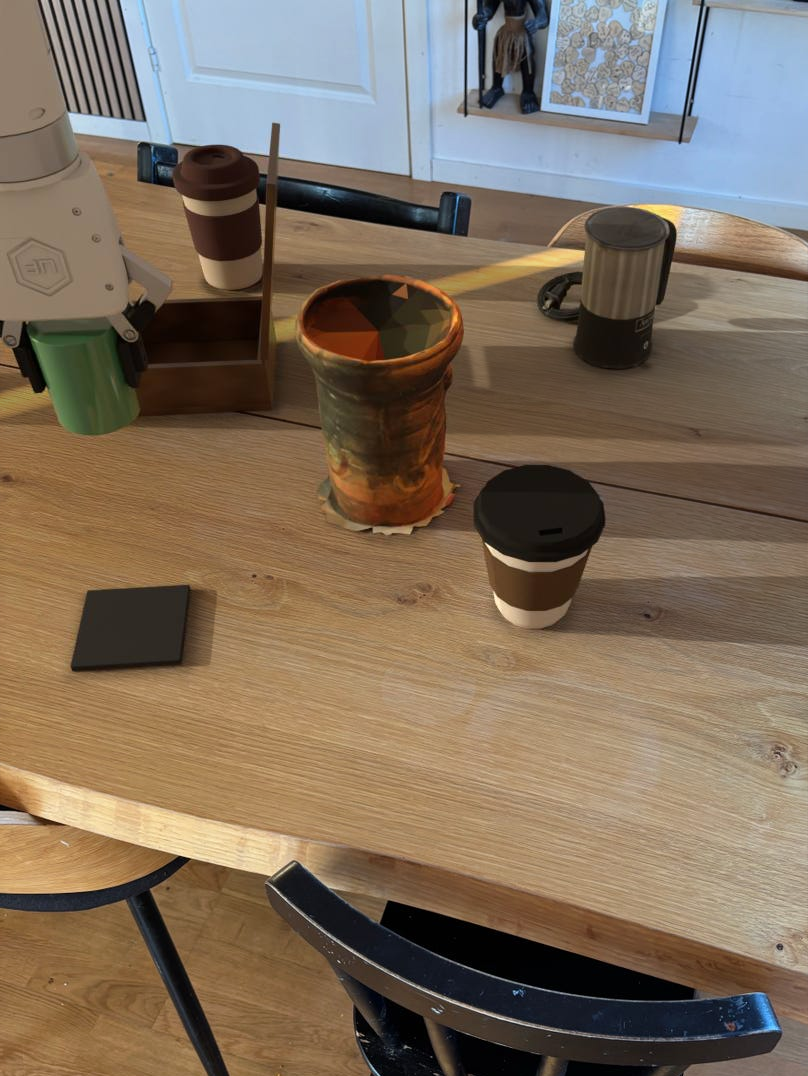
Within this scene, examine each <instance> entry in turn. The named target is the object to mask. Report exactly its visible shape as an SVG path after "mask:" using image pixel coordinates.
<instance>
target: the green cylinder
mask: <svg viewBox="0 0 808 1076" xmlns="http://www.w3.org/2000/svg"><path fill="white" fill-rule="evenodd" d="M26 324H27V333H28V336H29V339H30V342H31V345H32V348H33V350H34V353H35V356H36V359H37V362H38V364H39V367H40V370H41V373H42V376H43V378H44V381H45V384H46V389H47V392H48V395H49V398H50V402H51V404H52V406H53V409H54V412H55V414H56V415H55V416H56V418H57V420H58V423H59V425H60V426H61V427H62V428H63V429H64V430H66V431H68V432H69V433H72V434H75V435H79V436H87V437H88V436H89V437H90V436H94V437H95V436H103V435H108V434H111V433H114V432H117V431H120V430H122V429H123V428H125V427H127V426H129V425H130V424H132V423H133V421H135V420H136V419H137V417H139V416H138V414H139V412H140V407H141V405H140V400H139V397H138V393H137V390H136V388H131V387H129V386H128V383H127V379H126V376H125V372H124V369H123V365H122V362H121V358H120V355H119V352H118V348H117V342H118V338H119V333H118V332H117V331H116V329H115V328H114V327H113V326H112V325H111V323H110V322H109V321H108V320H107V318H106V317H103V318H89V319H69V320H47V321H27V323H26Z"/></svg>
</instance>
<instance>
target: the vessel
mask: <svg viewBox="0 0 808 1076" xmlns="http://www.w3.org/2000/svg"><path fill="white" fill-rule="evenodd" d="M462 315H463V314H462V312H461V309H460V307H459V305H458V304H457V303H456V302H455V300H453V298H452V297H450V296H449V295H448V293H446V292H444V290H442V289H440V288H438V287H437V286H434V285H432V284H429V283H428V282H426V281H423V280H421V279H420V278H415V277H414V276H409V275H393V274H384V275H380V276H374V277H360V278H349V279H339V280H337V281H334V282H332V283H329V284H326V285H323V286H320V287H319V288H318V287H317V288H316V289H315V290H314V291H313V292H312V293H311V294H310V295H309V296H308V297H307V298H306V299H305V301H303V303H301V306H300V308H299V311H298V314H297V315H296V318H295V322H294V335H295V336H294V337H295V339H296V344H297V346H298V349H299V351H300V352H301V354H302V355H303V356H304V358H305V359H306V361H307V362H308V363H307V364H309V366H310V367H311V369H312V372H313V375H314V378H315V384H316V385H315V386H316V395H317V400H318V414H319V420H320V421H319V422H320V428H321V435H322V443H323V448H324V453H325V456H326V461H327V467H328V476H327V477H326V478H325V479H324V480H322V482H321V483H320V484H319V486H318V488H317V489H316V492H317V495H318V496H317V500H318V501H324V503H323V504H322V505H321V506H320V510H322V511H324V512H325V517H326V522H327V523H329V524H332V525H336V526H339V527H341V528H343V529H344V528H345V529H346V530H351V531H356V532H359V531H363V530H368V529H370V528H372V533H373V534H376V533H382V534H384V535H385V536H389V535H392V534H402V535H403V534H405V535H411V533H412V532H413V528H414V527H427V526H428V525H429V524H430V522H431V521H432V519H433V518H434V517H438V516H440V515H442V514H443V513H445V511H444V510H442V509H443V508H445V507H447V506H448V505H450V504H451V503H452V501H453V500H454V497H455V496H456V494H454V493H453V491H454V489H456V488H457V487H461V484H454V483H452V482H450V477H449V473H448V471H447V469H446V468H444V467H443V460H444V458H445V453H446V436H447V435H446V434H447V412H446V403H445V401H446V394H447V391H448V389H449V388H450V387H451V385H452V383H453V380H454V375H453V369H452V368H453V367H452V364H451V362H452V361H453V360H454V359H455V358H456V356H457V355H458V354H459V351H460V350H461V346H462V343H463V340H464V335H465V334H464V333H465V327H464V320H463V316H462Z"/></svg>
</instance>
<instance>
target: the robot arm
mask: <svg viewBox="0 0 808 1076" xmlns="http://www.w3.org/2000/svg"><path fill="white" fill-rule="evenodd" d="M49 42H50V41H49V38H48V35H47V31H46V28H45V24H44V21H43V16H42V13H41V9H40V6H39V2H38V0H0V339H1V342H2V344H3V345H4V346H5V347H7V348H10V349H11V350H12V352H13V355H14V358H15V361H16V364H17V366H18V368H19V371H20V375H21V377H22V378H23V379H28V381H29V383H30V386H31V389H32V392H33V394H43V393H44V392H45V391H46V389H47V387H46V384H45V381H44V378H43V376H42V373H41V370H40V367H39V364H38V362H37V359H36V356H35V353H34V350H33V348H32V345H31V342H30V339H29V336H28V333H27V324H28V323H27V322H29V321H47V320H69V319H89V318H103V317H106V318H107V320H108V321H109V322H110V323H111V325H112V326H113V327H114V328H115V329H116V331H117V332H118V333H119V338H118V342H117V348H118V352H119V355H120V358H121V362H122V365H123V369H124V372H125V376H126V379H127V383H128V386H129V387H131V388H139V385H140V380H141V374H142V372H147V369H148V360H147V355H146V351H145V348H144V344H143V340H142V336H141V331H142V330H143V329H144V328H145V327H146V325H147V324H148V323H149V322H150V321H151V319H152V318H153V317H154V315H155V313H156V311H157V310H158V309H159V308H160V307H161V306H162V304H163V303H164V302H165V300H168V298H169V296H170V295H171V293H172V291H173V290H172V289H173V285H174V283H173V282H174V281H173V279H172V278H171V277H170V276H169V275H167V274H166V273H164V272H163V271H162V270H160V269H159V268H157V267H156V266H154V265H153V264H151V263H150V262H148V260H147V261H146V260H145V259H144V258H143V257H141V256H139V255H138V254H136V253H135V252H133V251H132V250H131V249H129V248H128V247H127V245H126V241H125V239H124V236H123V233H122V230H121V227H120V225H119V224H120V223H119V221H118V219H117V216H116V213H115V211H114V208H113V205H112V203H111V201H110V198H109V195H108V193H107V191H106V188H105V186H104V183H103V181H102V179H101V177H100V175H99V173H98V171H97V169H96V167H95V164H94V163H93V161H92V159H91V157H90V155H89V154H88V153H87V152H86V151H83V150H79V147H78V143H77V140H76V137H75V134H74V130H73V126H72V123H71V122H72V121H71V118H70V115H69V111H68V108H67V104H66V101H65V97H64V94H63V90H62V86H61V82H60V79H59V75H58V71H57V68H56V67H57V66H56V64H55V60H54V57H53V53H52V50H51V45H50V43H49ZM134 281H135V282H136V283H137V284H139V285H140V286H142V287H143V288H144V289H145V290H146V291H145V292H144V293H143V294H141V296H140V297H139V298H137V300H136V301H137V302H136V303H135V304H133V302H132V301H133V300H131V298H130V287H129V285H131V283H132V282H134Z"/></svg>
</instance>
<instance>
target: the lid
mask: <svg viewBox="0 0 808 1076" xmlns="http://www.w3.org/2000/svg"><path fill="white" fill-rule="evenodd" d="M280 138H281V123H278V122H272V123H271V131H270V142H269V143H270V144H269V153H268V163H267V175H266V185H265V186H266V187H265V189H266V190H265V214H264V215H265V216H264V220H265V221H264V240H263V241H264V243H263V244H264V245H263V273H262V295H261V296H262V322H261V350H260V359H264V360H268V353H269V339H270V325H271V311H272V312H273V309H272V308H273V294H274V277H275V275H274V274H275V254H276V253H275V252H276V251H275V250H276V229H277V209H278V208H277V206H278V187H279V185H278V183H279V162H280V161H279V160H280V140H281V139H280Z"/></svg>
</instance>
